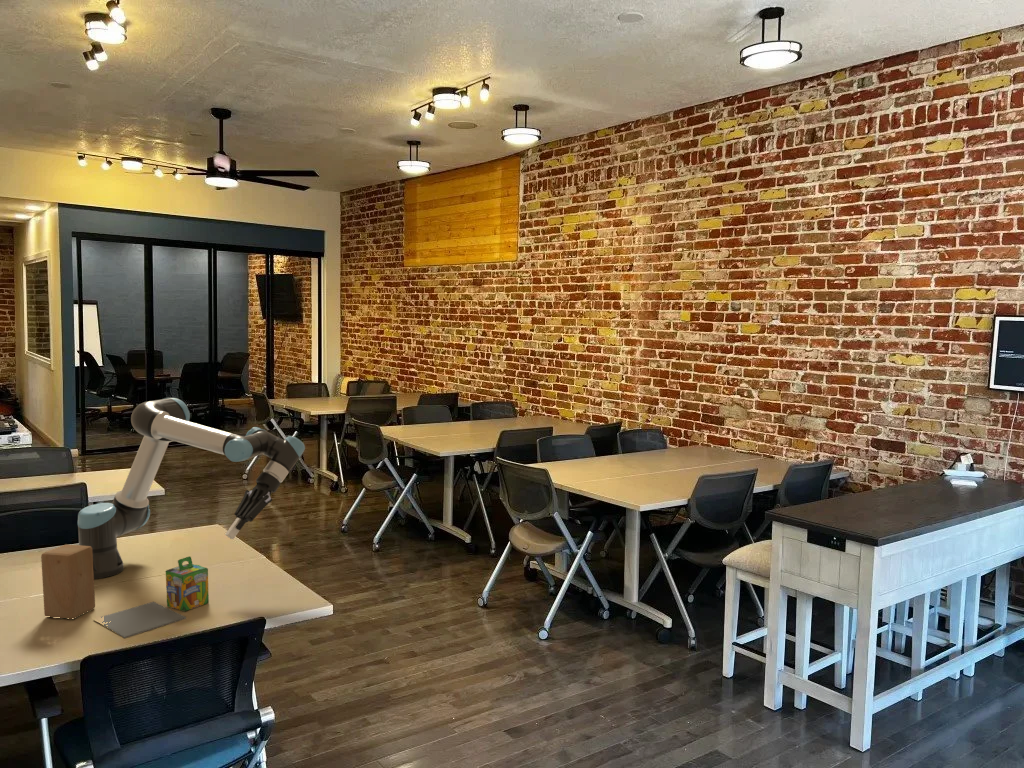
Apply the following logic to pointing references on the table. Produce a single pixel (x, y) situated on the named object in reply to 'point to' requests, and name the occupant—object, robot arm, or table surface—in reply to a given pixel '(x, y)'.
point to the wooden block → (68, 581)
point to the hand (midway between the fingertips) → (229, 537)
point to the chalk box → (187, 586)
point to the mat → (141, 619)
